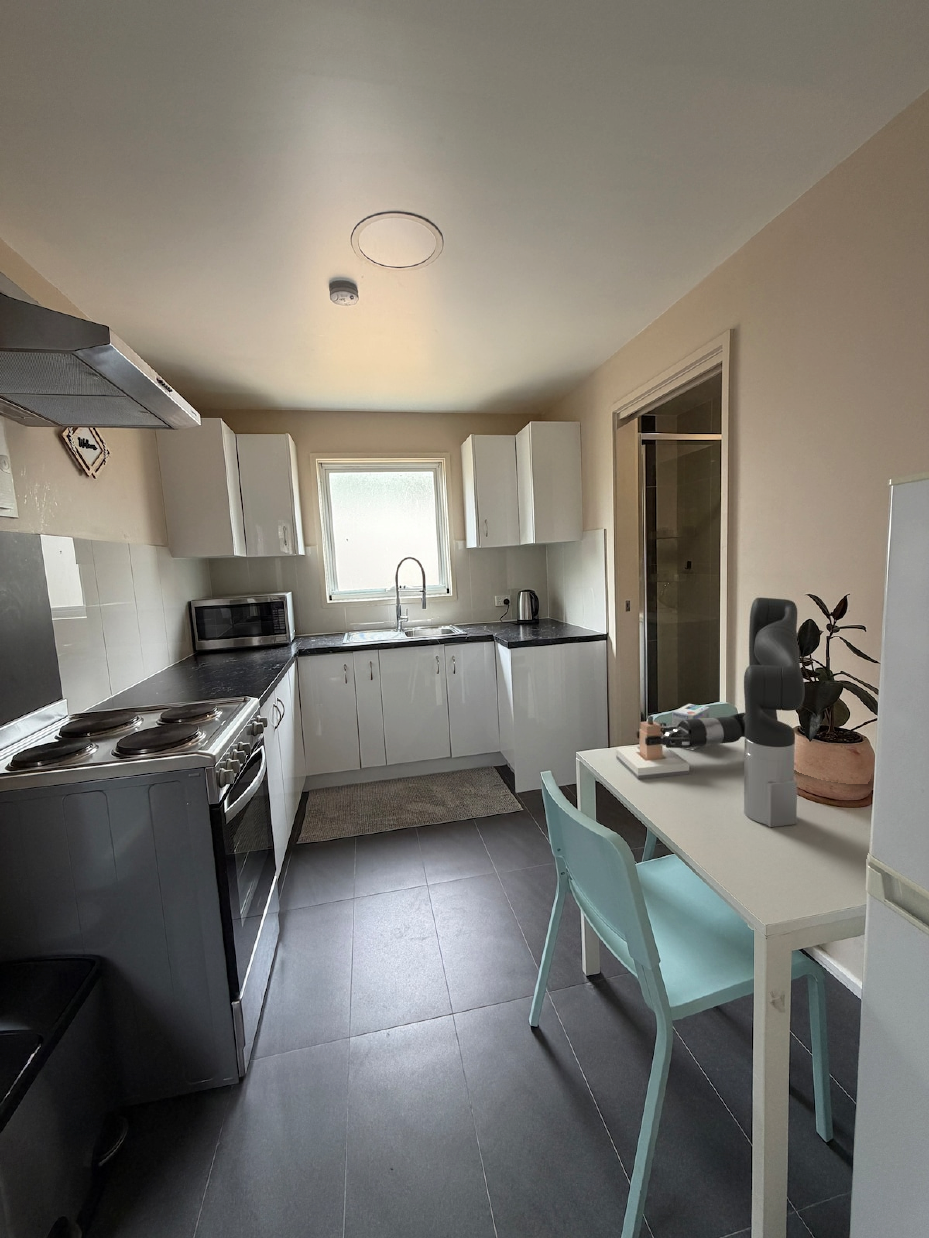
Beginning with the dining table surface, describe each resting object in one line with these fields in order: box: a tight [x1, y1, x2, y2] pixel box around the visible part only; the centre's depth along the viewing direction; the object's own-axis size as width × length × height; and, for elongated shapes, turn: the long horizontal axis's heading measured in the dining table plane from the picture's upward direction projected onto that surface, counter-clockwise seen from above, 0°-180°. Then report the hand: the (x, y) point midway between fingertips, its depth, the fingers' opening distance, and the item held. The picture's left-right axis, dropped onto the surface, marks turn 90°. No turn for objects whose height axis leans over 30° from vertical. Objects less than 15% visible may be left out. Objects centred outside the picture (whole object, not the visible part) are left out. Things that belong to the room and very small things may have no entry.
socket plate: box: [615, 745, 690, 780], centre depth 139 cm, size 14×14×3 cm
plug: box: [638, 715, 663, 761], centre depth 138 cm, size 4×4×13 cm
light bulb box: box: [671, 703, 710, 750], centre depth 153 cm, size 11×7×11 cm, turn 130°
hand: (641, 737), depth 138 cm, fingers open, 5 cm apart
